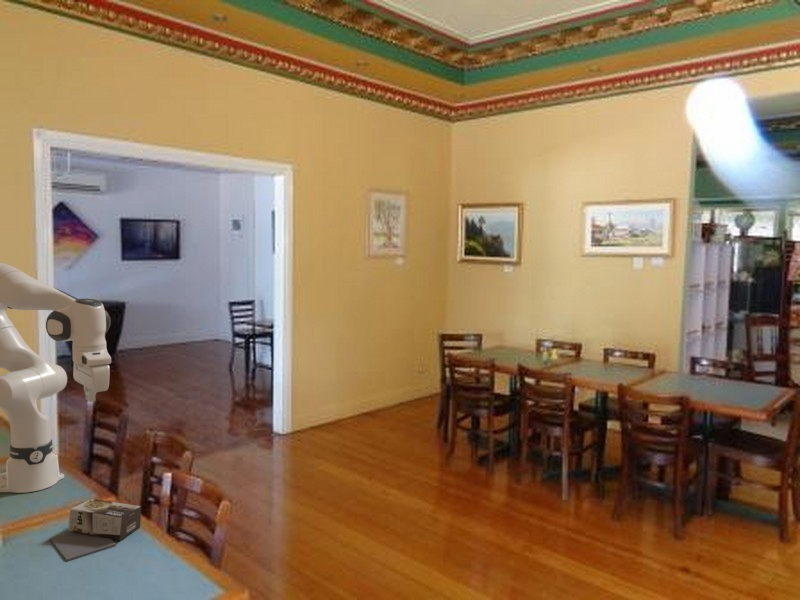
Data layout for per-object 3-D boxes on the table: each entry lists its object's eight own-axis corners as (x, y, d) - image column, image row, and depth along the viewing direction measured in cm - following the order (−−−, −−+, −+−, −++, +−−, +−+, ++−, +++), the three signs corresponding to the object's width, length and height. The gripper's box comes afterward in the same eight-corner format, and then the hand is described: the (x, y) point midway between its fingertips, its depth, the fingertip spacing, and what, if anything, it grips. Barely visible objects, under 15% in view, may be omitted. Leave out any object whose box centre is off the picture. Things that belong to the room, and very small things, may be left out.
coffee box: (67, 531, 164) (119, 541, 161) (69, 508, 164) (121, 517, 161) (91, 519, 173) (140, 528, 170) (92, 497, 173) (142, 505, 170)
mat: (50, 539, 162) (50, 537, 162) (97, 525, 170) (97, 524, 170) (66, 561, 151) (66, 559, 151) (116, 545, 160) (116, 543, 160)
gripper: (67, 350, 179) (68, 395, 181) (89, 361, 165) (90, 410, 166) (89, 348, 184) (90, 392, 185) (113, 358, 169) (114, 406, 171)
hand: (90, 400), depth 175 cm, fingers closed
